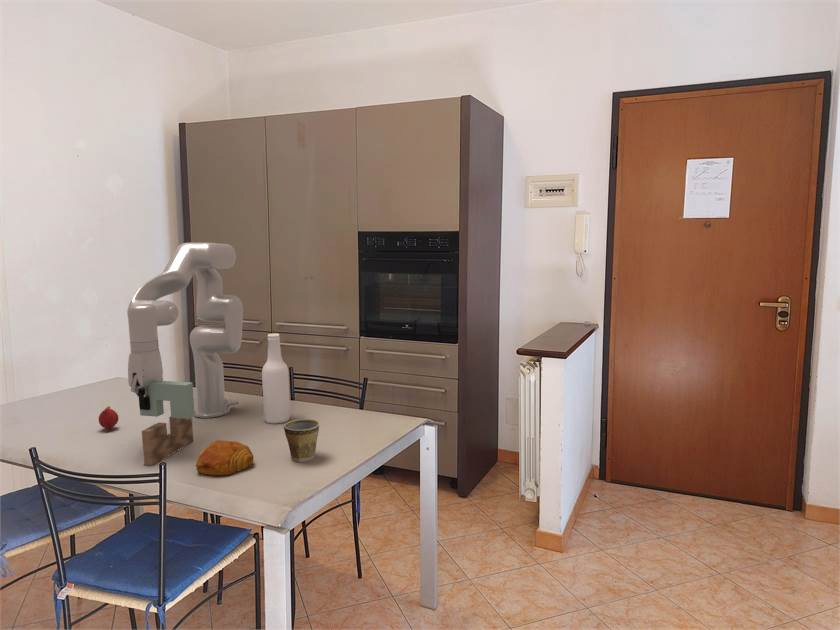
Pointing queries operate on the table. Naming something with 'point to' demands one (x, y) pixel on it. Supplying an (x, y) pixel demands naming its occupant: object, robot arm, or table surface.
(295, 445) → the ceramic cup
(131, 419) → the table surface
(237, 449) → the croissant
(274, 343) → the alcohol
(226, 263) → the robot arm
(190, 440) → the walnut slotted plate
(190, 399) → the green slotted plate
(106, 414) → the onion
